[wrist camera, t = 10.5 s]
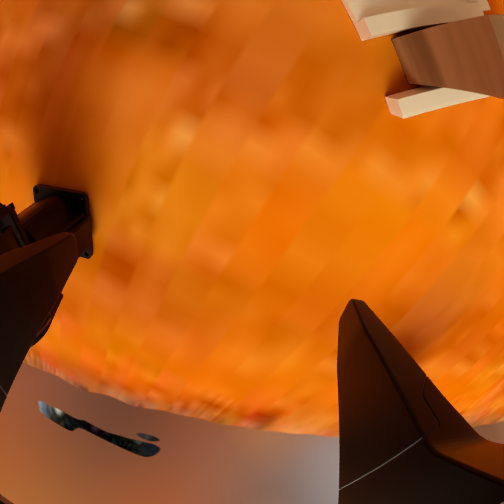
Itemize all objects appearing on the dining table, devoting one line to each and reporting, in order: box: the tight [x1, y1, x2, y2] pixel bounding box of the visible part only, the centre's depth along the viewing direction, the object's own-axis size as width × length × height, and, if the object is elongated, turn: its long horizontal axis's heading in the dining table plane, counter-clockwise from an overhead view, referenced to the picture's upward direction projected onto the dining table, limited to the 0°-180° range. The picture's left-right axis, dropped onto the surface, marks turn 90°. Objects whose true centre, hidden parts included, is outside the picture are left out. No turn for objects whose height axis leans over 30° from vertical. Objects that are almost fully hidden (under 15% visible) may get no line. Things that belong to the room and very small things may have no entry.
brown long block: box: [391, 15, 504, 99], centre depth 9 cm, size 5×3×11 cm, turn 115°
